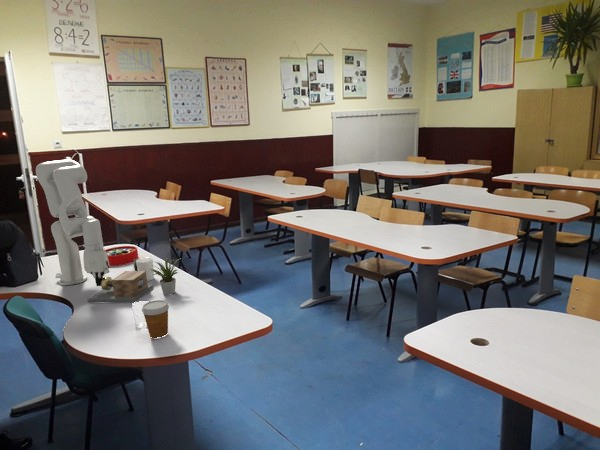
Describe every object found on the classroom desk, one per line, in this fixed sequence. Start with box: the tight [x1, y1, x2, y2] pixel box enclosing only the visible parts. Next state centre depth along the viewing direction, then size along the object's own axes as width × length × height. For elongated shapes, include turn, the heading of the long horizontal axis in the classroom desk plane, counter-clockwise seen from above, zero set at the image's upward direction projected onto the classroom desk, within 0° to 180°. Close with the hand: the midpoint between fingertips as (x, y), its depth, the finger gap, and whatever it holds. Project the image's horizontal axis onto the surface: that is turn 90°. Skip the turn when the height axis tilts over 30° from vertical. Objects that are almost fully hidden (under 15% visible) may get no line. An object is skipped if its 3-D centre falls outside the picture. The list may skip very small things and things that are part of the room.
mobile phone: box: [132, 258, 139, 271], centre depth 258 cm, size 5×3×15 cm
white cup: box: [136, 257, 155, 282], centre depth 241 cm, size 8×8×10 cm
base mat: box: [87, 284, 154, 304], centre depth 222 cm, size 22×18×2 cm
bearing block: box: [112, 270, 149, 297], centre depth 220 cm, size 10×12×8 cm
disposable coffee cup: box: [141, 299, 170, 339], centre depth 177 cm, size 10×10×12 cm
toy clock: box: [105, 245, 139, 267], centre depth 276 cm, size 20×6×20 cm
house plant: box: [150, 257, 182, 296], centre depth 220 cm, size 14×14×16 cm
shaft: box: [100, 276, 144, 290], centre depth 220 cm, size 18×6×6 cm, turn 81°
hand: (100, 285), depth 222 cm, fingers closed
